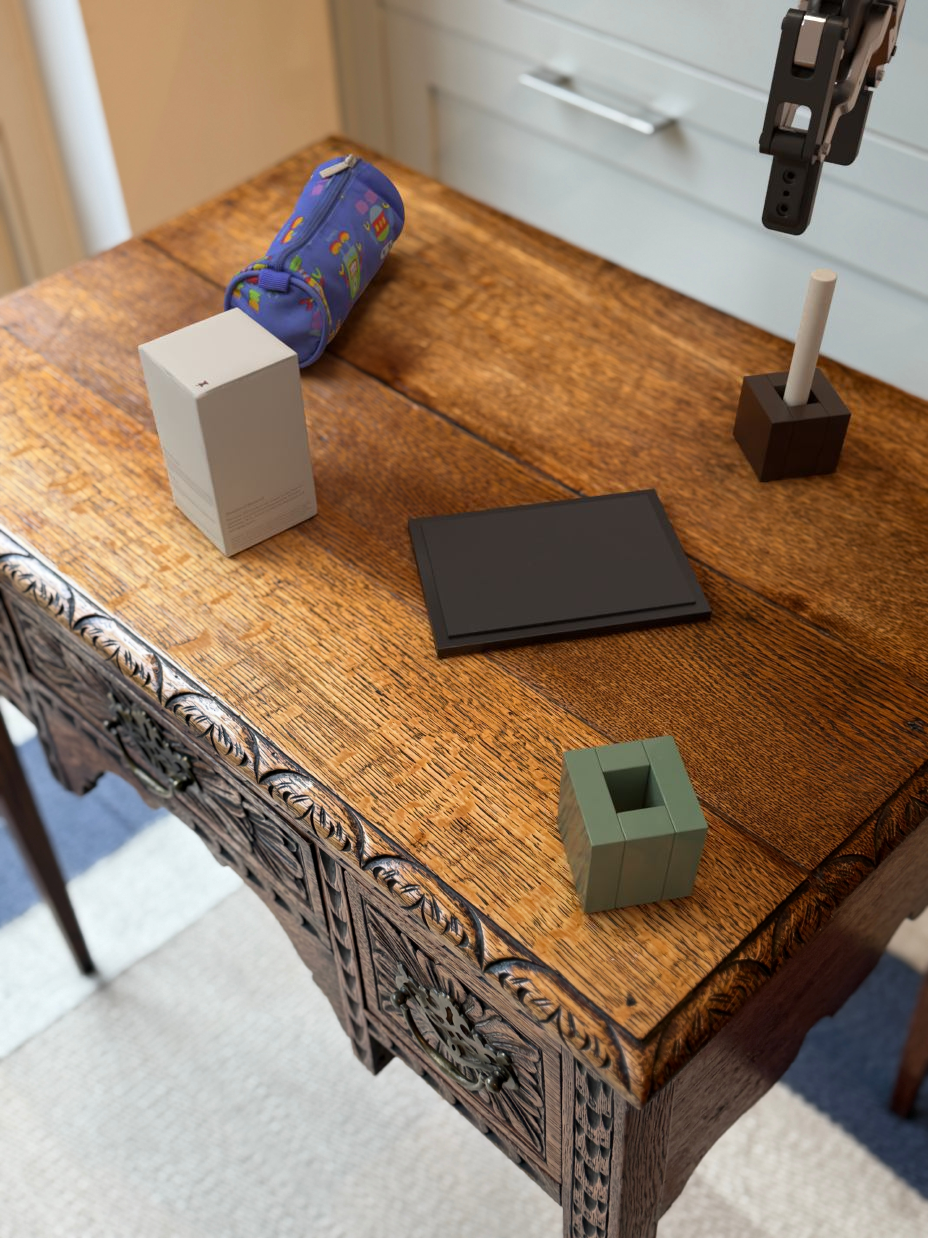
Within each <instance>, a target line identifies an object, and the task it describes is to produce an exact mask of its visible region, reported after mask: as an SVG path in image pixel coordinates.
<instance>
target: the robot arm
mask: <svg viewBox="0 0 928 1238" xmlns="http://www.w3.org/2000/svg"><path fill="white" fill-rule="evenodd" d="M906 4H907V0H798V3H797V6H796V8H792V7H789V9H788V10H787V11H786V14H785V16H784V17H783V18H782V21H781V25H780V30H781V31H780V32H781V33H780V37H779V42H778V46H777V47H778V48H777V54H776V58H775V63H774V69H773V74H772V77H771V84H770V89H769V93H768V94H769V95H768V99H767V105H766V108H765V114H764V120H763V125H762V129H761V130H762V131H761V133H760V135H759V138H758V145H759V146H758V147H759V148H758V152H759V154H762V155H766V156H767V155H768V156H772V161H771V167H770V172H769V177H768V181H767V187H766V193H765V198H764V204H763V209H762V213H761V224H762V225H763V227H764V228H766V229H767V230H769V231H774V232H777V233H782V234H786V235H791V236H797V237H798V236H801V235H803V234H804V233H805V232H806V230H807V229H808V227H809V226H810V224H811V222H812V217H813V212H814V208H815V203H816V199H817V195H818V190H819V185H820V181H821V176H822V171H823V167H824V163H829V164H833V165H838V166H842V167H848V166H850V165H852V164H853V163H854V162H855V160H856V159H857V158H858V156H859V153H860V149H861V144H862V141H863V138H864V133H865V129H866V126H867V125H866V124H867V120H868V116H869V112H870V107H871V103H872V98H873V96H874V92H875V91H874V90H870V88H872V89H878V87H879V86H880V82H883V80H884V77H885V73H886V71H885V70H884V69H885V65H886V64H890V63H891V61H892V58H893V57H895V55H896V52H897V49H898V45H897V41H898V37H899V32H900V29H901V24H902V21H903V20H902V19H903V16H904V11H905V8H906ZM801 106H803V107H807V108H808V109H809V110H810V118H809V122H808V127H807V129H804V128H798V127H794V126H792V124H793V123H794V119H795V116H796V113H797V110H799V108H800V107H801Z"/></svg>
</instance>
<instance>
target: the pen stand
mask: <svg viewBox="0 0 928 1238" xmlns="http://www.w3.org/2000/svg"><path fill="white" fill-rule="evenodd" d="M673 736H674V735H671V734H670V735H664V736H663V735H662V736H657V737H650V738H644V739H639V740H631V741H625V742H619V743H612V744H606V745H605V744H604V745H599V746H595V747H594V746H592V747H584V748H576V749H571V750H570V749H569V750H565V751H563V752H562V761H561V771H560V783H559V794H558V807H557V815H556V816H557V817H556V823H557V824H556V825H557V827H558V830H559V834H560V837H561V841H562V845H563V847H564V851H565V856H566V858H567V862H568V866H569V869H570V873H571V876H572V880H573V882H574V886H575V890H576V894H577V896H578V901H579V904H580V907H581V910H582V913H583V914H584V915H586V914H587V915H588V914H594V913H600V912H605V911H610V910H614V909H621V908H627V907H632V906H638V905H639V906H640V905H645V904H650V903H657V902H661V901H662V902H663V901H668V900H675V899H681V898H686V897H687V898H688V897H690V896H692V895H693V892H694V887H695V885H696V884H695V883H696V879H697V876H698V872H699V868H700V864H701V860H702V855H703V852H704V847H705V844H706V839H707V835H708V831H709V824H708V822H707V819H706V817H705V813H704V812H703V810H702V807H701V804H700V801H699V799H698V797H697V794H696V791H695V788H694V786H693V784H692V781H691V779H690V777H689V773H688V771H687V768H686V766H685V763H684V761H683V759H682V756H681V754H680V751H679V749H678V745H677V744H676V741H675V739H674V737H673Z"/></svg>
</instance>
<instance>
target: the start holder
mask: <svg viewBox="0 0 928 1238" xmlns="http://www.w3.org/2000/svg"><path fill="white" fill-rule="evenodd" d="M789 371H790V370H784V371H776V372H766V373H762V374H751V375H744V376H743V377H742V378H743V379H742V384H741V388H740V394H739V399H738V404H737V409H736V415H735V420H734V426H733V431H732V435H733V437H734V439H735V441H736V442H737V444H738V446H739V448H740V450H741V452H742V453H743V455H744V456H745V459H746V460H747V461H748V464H749V465H750V467H751V469H752V471H753V472H754V475H756V478H757V480H758V481H759V482H766V481H775V480H781V479H782V480H783V479H790V478H791V479H792V478H799V477H800V478H801V477H807V476H814V475H816V476H817V475H824V474H831V473H836V471H837V469H838V465H839V461H840V459H841V453H842V450H843V446H844V443H845V439H846V435H847V432H848V428H849V424H850V421H851V418H852V412H851V410H850V409H849V407H848V406H847V404H846V403H845V402H844V400H843V399H842V397H841V396H840V395H839V393H838V392H837V391H836V389H835V387H834V386H833V385H832V383H831V382H830V381H829V379H828V378H827V377H826V376H827V375H825V374H824V372H823V371H822V369H821V367H816V368H815V372H814V376H813V380H812V384H811V388H810V393H809V397H808V401H807V404H806V405H797V406H789V407H786V406H785V404H784V403H783V398H784V394H785V389H786V385H787V380H788V376H789Z"/></svg>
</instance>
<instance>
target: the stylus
mask: <svg viewBox="0 0 928 1238" xmlns="http://www.w3.org/2000/svg"><path fill="white" fill-rule="evenodd" d="M837 280H838V274H837V272H836V271H834V270H831V269H828V268H816V269H814V270H812V272H811V273H810V278H809V282H808V288H807V291H806V296H805V300H804V305H803V309H802V315H801V318H800V323H799V327H798V332H797V336H796V341H795V345H794V349H793V354H792V357H791V363H790V367H789V370H788V371H789V376H788V380H787V385H786V389H785V394H784V398H783V403H784V404H785V406H786V407H789V406H797V405H806V404H807V401H808V397H809V393H810V388H811V384H812V380H813V376H814V372H815V368H817V363H818V359H819V356H820V351H821V348H822V347H821V346H822V342H823V338H824V336H825V335H824V334H825V329H826V325H827V321H828V317H829V313H830V309H831V305H832V302H833V297H834V292H835V289H836V284H837V282H838V281H837Z"/></svg>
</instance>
